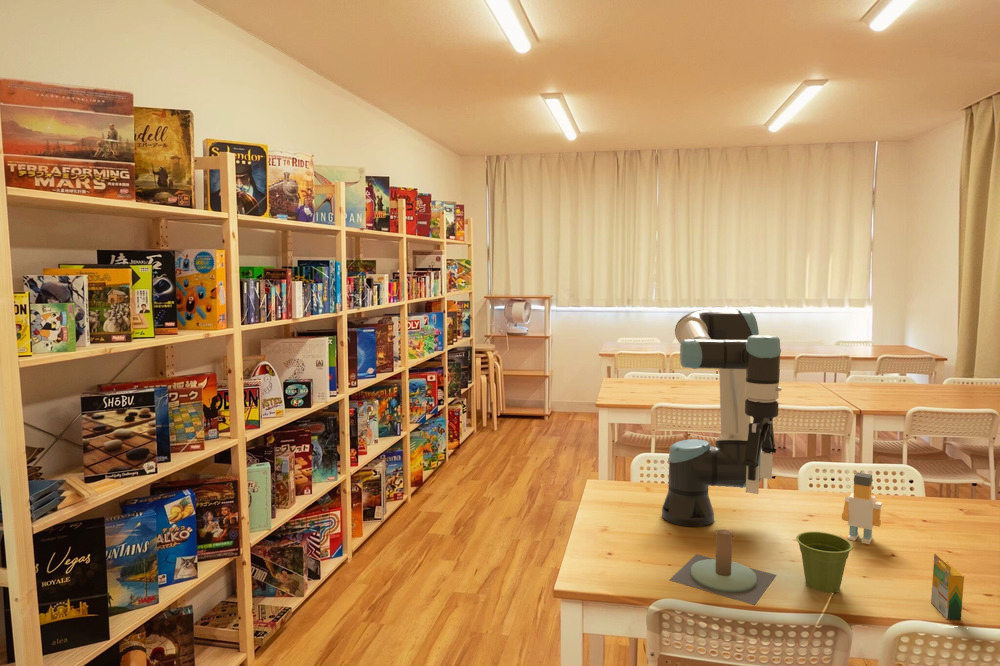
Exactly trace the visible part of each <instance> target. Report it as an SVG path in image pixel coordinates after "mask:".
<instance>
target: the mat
mask: <svg viewBox="0 0 1000 666" xmlns="http://www.w3.org/2000/svg"><path fill="white" fill-rule="evenodd" d="M707 559H714V558H713V557H709V556H705V555H700V554H698V553H697V554H695V555H694V556H693V557H692V558H690V560H688V561H687V563H685V565H683V566H682V567H681V568H680V569H679V570H677V572H676V573H675V574H674V575H673V576H672V577H671V578H670V579H669V581H670V582H673V583H677V584H681V585H685V586H688V587H691V588H695V589H698V590H701V591H705V592H708V593H712V594H715V595H718V596H721V597H725V598H728V599H733V600H735V601H739V602H742V603H746V604H749V605H754V606H756V604H757V603H758V602H759V600H760V598H761V597H762V596H763V595H764V594H765V592H766V590H767V589H768V587H769V586H770V585H771V584H772V582H773V580H774V579H775V578H776V577H777V574H776V573H775V574H774V573H771V572H766V571H762V570H759V569H755V568H751V567H749V568H750V569H751V570H752V571H753V572H754V573H755V574H756V577H757V581H756V586H755V587H754V588H752V589H751V590H748V591H744V592H722V591H717V590H713V589H709V588H707V587H704V586H702V585H700V584H699V583H697V582H696V581H695V580H694V579H693V578H692V576H691V567H692V565H693V564H694V563H696V562H698V561H701V560H707Z"/></svg>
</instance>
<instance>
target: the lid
mask: <svg viewBox="0 0 1000 666" xmlns="http://www.w3.org/2000/svg"><path fill="white" fill-rule="evenodd" d="M715 536H716V537H715V539H716V540H715V558H713V559H707V560H701V561H698V562H696V563H694V564H693V565H692V567H691V576H692V578H693V579H694V580H695V581H696V582H697V583H699V584H700V585H702V586H704V587H707V588H709V589H713V590H717V591H722V592H744V591H748V590H751V589H752V588H754V587H755V586H756V581H757V577H756V574H755V573H754V572H753V571H752V570H751V569H750V568H751V567H748V566H747V565H745V564H742V563H740V562H736V561H733V560H732V559H733V554H732V553H733V551H732V550H733V532H732V531H730V530H729V529H728V530H727V529H718V530H716V535H715Z"/></svg>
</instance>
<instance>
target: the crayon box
mask: <svg viewBox="0 0 1000 666" xmlns="http://www.w3.org/2000/svg"><path fill="white" fill-rule="evenodd" d="M933 554H934V556H933V567H932V568H933V569H932V571H933V572H932V583H931V584H932V585H931V586H932V587H931V597H930V604H932V605H933V606H934V608H936V609H937V611H939V612H940V614H942V616H943V617H944V618H945V619H946V620H954V621H955V620H956V621H961V620H962V608H963V598H964V597H963V596H964V581H965V576H964V575H962V573H960V572H959V571H958V570H957V569H955V567H953V566H952V565H951V564H950V563H949V562H948V561H947V562H946V561H944V560H943V559H942V558H941V557H940V556H938V555H937V553H933Z"/></svg>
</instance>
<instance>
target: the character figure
mask: <svg viewBox="0 0 1000 666" xmlns="http://www.w3.org/2000/svg"><path fill="white" fill-rule="evenodd" d="M853 476H854V477H853V478H854V479H853V492H851V493H850V495H849V496H845V497H844V505H843V512H842V514H841V519H842V521H844V522H847V525H848V526H849V534H848V535H847V540H848V541H853V542H856V540H857V538H858V537H859V528H861V529H863V534H862V535H863V536H862V539H861V543H862V544H867V545H869V544H871V542H872V540H873V535H872V534H873V528H874V527H879V528H880V527H881V525H882V519H881V513H882V511H881V509H882V507H883V502H882V501H876V496H875V495H872V489H873V474H870V473H864V472H859V471H858V472H857V471H856V472H855V474H854V475H853Z"/></svg>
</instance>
